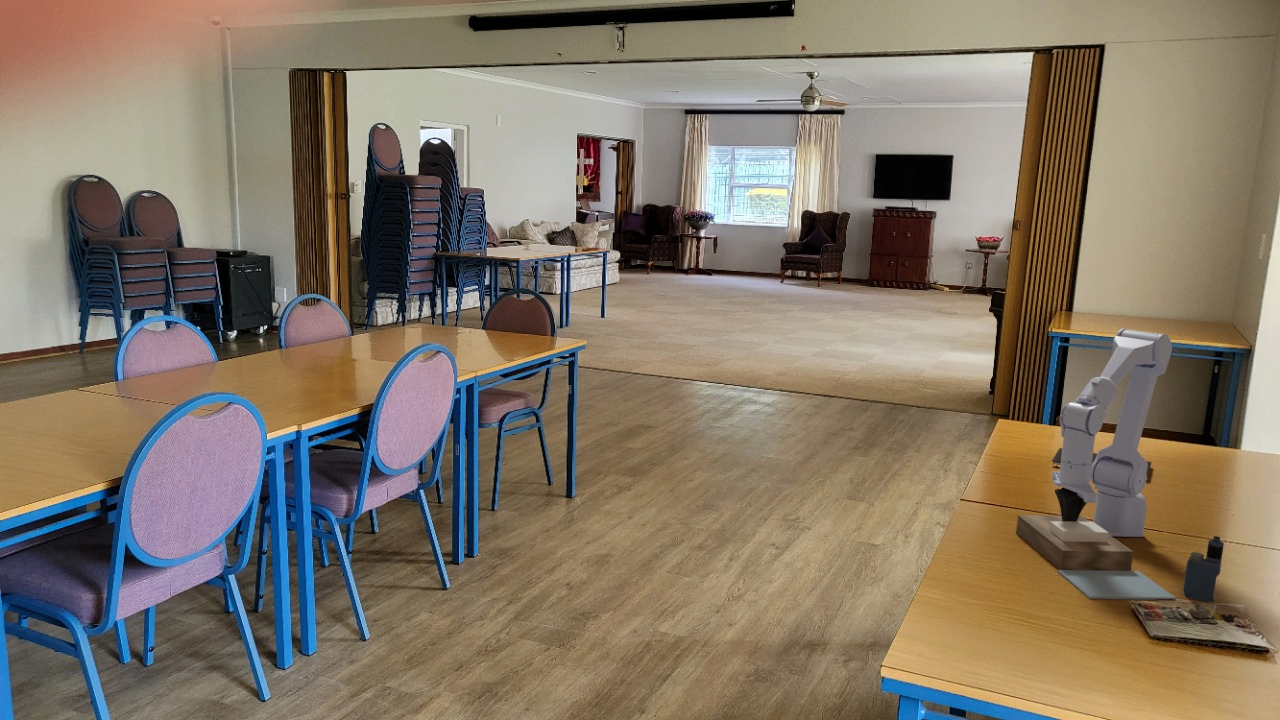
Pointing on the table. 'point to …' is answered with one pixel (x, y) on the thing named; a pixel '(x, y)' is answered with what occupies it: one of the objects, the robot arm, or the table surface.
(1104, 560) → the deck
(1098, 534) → the white flat block
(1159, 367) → the robot arm
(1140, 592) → the mat
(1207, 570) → the vaping device
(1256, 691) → the table surface
